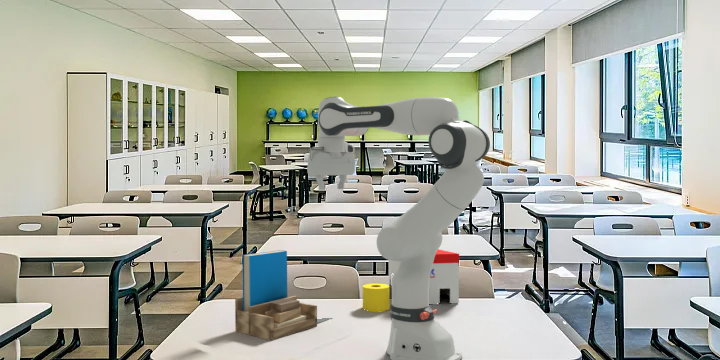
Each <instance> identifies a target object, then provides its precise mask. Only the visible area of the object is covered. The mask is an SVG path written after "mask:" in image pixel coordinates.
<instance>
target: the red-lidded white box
mask: <svg viewBox="0 0 720 360" xmlns="http://www.w3.org/2000/svg"><path fill="white" fill-rule="evenodd" d="M399 264H400V261H393V260H388V285H389V286H390V279H391V274H392V273H394V274H395V273H396V271H397V269H398V267H399ZM459 264H460V253H457V252H452V251H448V250H443V249H440V248H438V250H437V252H436V254H435V257H434V261H433V265H432V269H431V274H430V281H429V304H437V303H441V302H440V299H441V297H440V295H447V296H448V297H449V304H450V303H460V299H459V298H460V297H459V296H460V295H459V294H460V290H459V289H460V288H459V286H460V285H459V281H460V275H459V274H460V273H459V272H460V271H459V270H460V267H459V266H460V265H459Z"/></svg>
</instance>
